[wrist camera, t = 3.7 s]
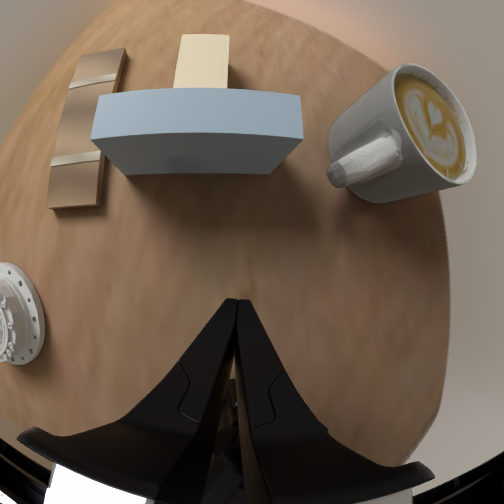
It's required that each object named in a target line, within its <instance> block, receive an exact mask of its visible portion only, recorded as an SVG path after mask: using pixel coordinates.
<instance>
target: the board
mask: <svg viewBox="0 0 504 504" xmlns="http://www.w3.org/2000/svg"><path fill="white" fill-rule="evenodd" d="M126 57H127V53H126V49H125V48H120V49H114V50H108V51H103V52H98V53H93V54H88V55H84V56H81V57H80V60H79V62H78V65H77V68H76V70H75V73H74V76H73V79H72V82H71V83H70V86H69V91H68V94H67V97H66V101H65V104H64V108H63V112H62V115H61V119H60V124H59V128H58V132H57V137H56V142H55V147H54V152H53V157H52V161H51V171H50V178H49V187H48V197H47V208H48V209H52V210H58V209H70V208H84V207H99V206H101V197H102V184H103V173H104V164H105V155H104V154H103V153H102V151H101V150H100V149H99V148H98V147H97V146H96V145H95V144H94V143H93V142H92V141H91V140H90V138H91V132H92V127H93V122H94V117H95V112H96V108H97V104H98V100H99V96H100V95H105V94H112V93H117V90H118V86H119V82H120V78H121V74H122V71H123V67H124V63H125V60H126Z"/></svg>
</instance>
